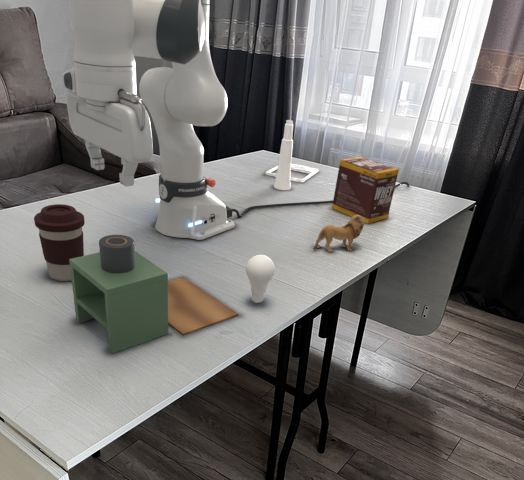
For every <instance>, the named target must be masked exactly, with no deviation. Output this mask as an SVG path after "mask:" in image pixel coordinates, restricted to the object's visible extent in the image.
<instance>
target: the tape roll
mask: <svg viewBox="0 0 524 480" xmlns="http://www.w3.org/2000/svg"><path fill="white" fill-rule="evenodd" d="M98 246H99V252H100V260H101V268H102V269H103V270H104V271H107V272H110V273H125V272H129V271H131V270H133V269H134V268H135V251H136V250H135V240H134V239H133V238H132V236H131V237H130V236H128V235H124V234H109V235H105V236H103V237H101V238H99V240H98Z"/></svg>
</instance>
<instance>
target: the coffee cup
mask: <svg viewBox="0 0 524 480" xmlns="http://www.w3.org/2000/svg"><path fill="white" fill-rule="evenodd" d="M33 220H34V222H33V223H34V226H35V227H36V228H37V229H38V231H39V233H38V237H39V241H40V245H41V249H42V254H43V259H44V261H45V263H46V268H47V272H48V275H49V277H50V278H51V279H53V280H55V281H60V282H70V281H71V282H72V278H71V270H70V262H69V259H72V258H76V257H81V256H85V252H84V251H85V250H84V249H85V248H84V247H85V245H84V231H83V227H84V226H85V216H84V214H83V213H82V212H80V211H77V209H76V208H75V207H74V206H72V205H68V204H62V203H60V204H59V203H56V204H49V205H46V206H44V207H42V208H41V209H40V211H39V212H38V213H36V214H35V215H34V217H33Z"/></svg>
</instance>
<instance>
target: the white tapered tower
mask: <svg viewBox="0 0 524 480" xmlns="http://www.w3.org/2000/svg"><path fill="white" fill-rule="evenodd" d="M285 122H286V123H284V130H283V138H282V139H281V144H280V148H279V149H280V150H279V157H278V164H277V165H278V169H277V170H276V173H275V174H276V177H275V179H274V183H273V188H274V189H275V190H279V191H290V190H291V188H292V183H291V181H292V180H291V177H292V175H291V174H292V170H291V163H292V157H293V144H294V140H293V132H294V121H293V120H292V119H286V120H285Z"/></svg>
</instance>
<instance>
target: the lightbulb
mask: <svg viewBox="0 0 524 480" xmlns="http://www.w3.org/2000/svg"><path fill="white" fill-rule="evenodd" d="M245 273H246V276H247V278H248V280H249V283H250V291H251V300H252V302H254V303H256V304H259V303H262V302H263V301H264V298H265V293H266V290H267V287H268V285H269V283H270V282H271V280H272V279H273V277H274V276H275V273H276V267H275V263H274V261H273V260H272V259H271V258H270V257H269V256H267V255H265V254H257V255H254V256H252V257H250V258H249V260H248V261H247V263H246V266H245Z"/></svg>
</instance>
